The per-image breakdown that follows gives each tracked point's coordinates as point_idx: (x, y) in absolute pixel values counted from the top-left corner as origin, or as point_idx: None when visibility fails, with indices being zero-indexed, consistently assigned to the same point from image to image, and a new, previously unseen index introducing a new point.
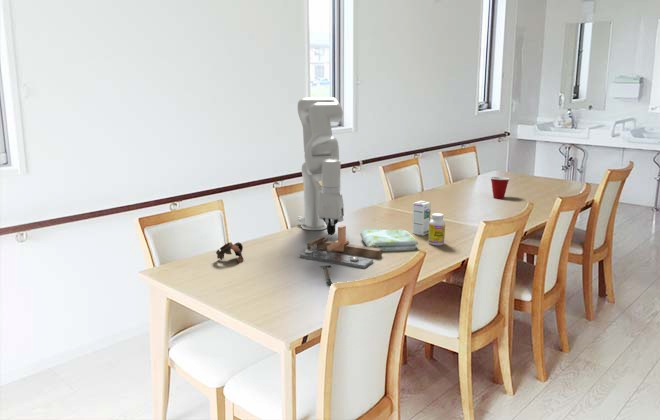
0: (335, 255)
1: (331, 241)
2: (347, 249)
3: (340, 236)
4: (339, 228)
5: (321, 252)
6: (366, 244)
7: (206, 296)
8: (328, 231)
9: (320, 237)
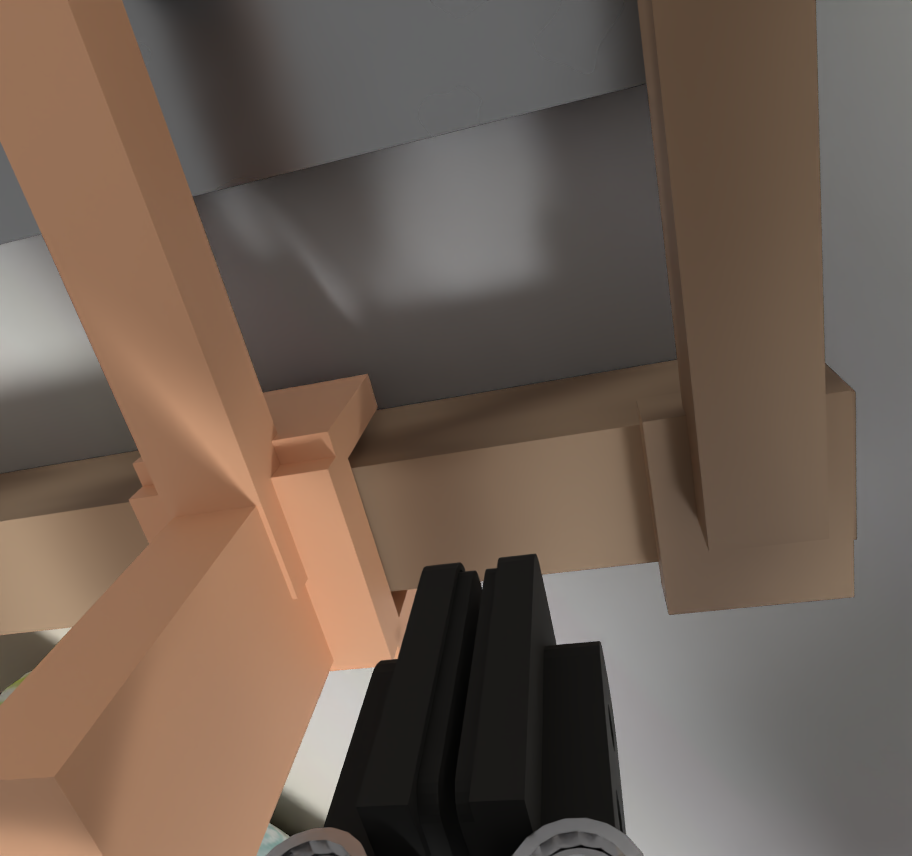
0: None
1: (558, 567)
2: None
3: (135, 578)
4: (5, 756)
5: (421, 40)
6: None
7: None
8: (500, 614)
9: (766, 462)
